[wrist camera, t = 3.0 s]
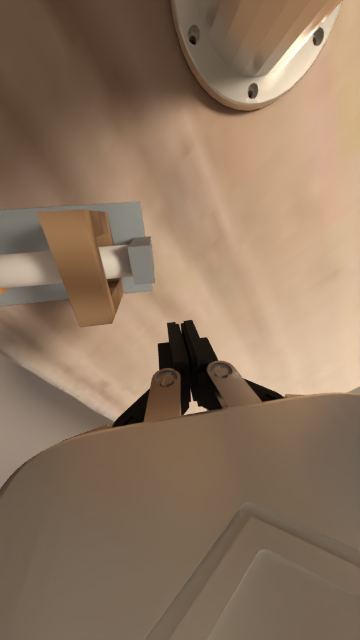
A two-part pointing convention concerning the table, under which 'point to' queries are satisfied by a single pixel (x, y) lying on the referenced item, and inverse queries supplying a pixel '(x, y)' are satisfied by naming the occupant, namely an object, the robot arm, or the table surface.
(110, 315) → the collar
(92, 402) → the table surface
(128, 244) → the pipe stand
